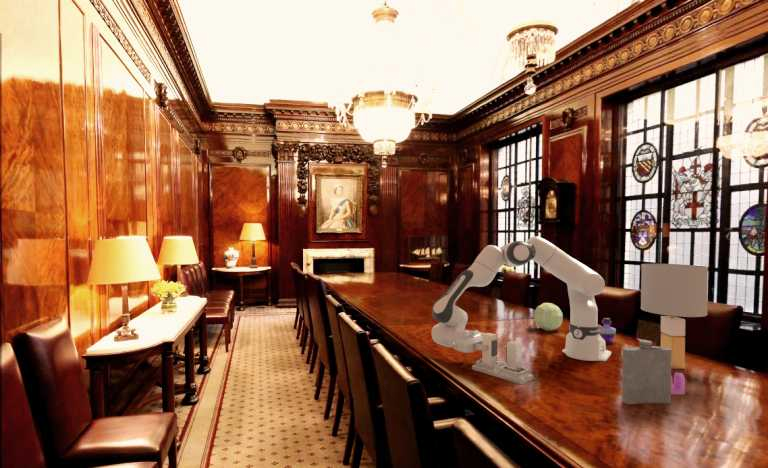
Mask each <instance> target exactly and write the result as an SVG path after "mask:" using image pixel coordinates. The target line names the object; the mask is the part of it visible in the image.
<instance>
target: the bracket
mask: <svg viewBox="0 0 768 468" xmlns="http://www.w3.org/2000/svg"><path fill="white" fill-rule="evenodd" d="M673 374H674V375H673V376H672V374H671V395H686V378H685V374H684V373H682V372H675V373H673Z"/></svg>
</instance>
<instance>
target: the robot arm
mask: <svg viewBox="0 0 768 468" xmlns="http://www.w3.org/2000/svg"><path fill="white" fill-rule="evenodd" d="M530 261H533V262H535V263H536V264H538V265H539V266H540V267H542V268H543V269H544V270H546V271H547V272H549V273H550V274H552V275H553V276H554V277H556V278H557V279H559V280H561V281H562V282H564V283H566V286H567V293H568V299H569V308H570V313H569V314H570V315H569V317H570V319H569V321H570V323H569V324H568V333H567V334H566V336H565V347H564V349H562V353H564V354H565V355H566V356H567V357H568V358H572V359H576V360H580V361H589V362H590V361H591V362H606V361H608V359H609V358H610V356H611V355H612V351H611V350H608V349H607V347H606V344H607V343H605V340H604V339H603V338H602V337H601V336H600V335H599V333H600V332H599V330H600V329H601V326H602V325H601V324H599V323H598V321H599V320H598V316H599V315H598V314H599V313H598V311H599V309H598V306H597V303H596V299H595V296H597V295H600V294H601V293H602V292H604V289H605V287H606V285H605V284H606V282H605V280H604V278H603V277H602V276H601V274H599V273H598V272H597V271H596V270H594V269H592V268H590V267H589V266H587V265H586V264H584V263H583V262H580V261H579V260H578V259H576V258H575V257H574V258H573V257H572V256H570V255H569V254H567V253H566V252H565V251H563V250H562V249H560V247H558V246H556V245H555V244H553V243H552V242H550V241H549V240H547V239H545V238H543V237H540V236H538V235H537V236H535V235H533V236H531V237H529V238H528V240H526V241H523V240H517V241H511V242H508V243H507V244H505V245H503V246H501V247H499V246H497V245H493V244H489V245H486V246H485V247H484V248H483V249H482V250H481V252H480V253H479V254H478V255H477V256H476V257H475V259H474V262H473V263H472V264H471V265H470V266H469V267H468V268H467V269H465V270H464V271H463V270H462V272H461V273H460V274H459V275H458V276H457V277H456V278H455V280H453V282H452V283H451V285H450V286H449V288H448V289H447V290H446V291H445V292H444V294H442V296H440V298H438V299H437V300H436V301H435V302H434V304H433V306H432V309H431V312H432V313H431V314H432V317H433V319H434V320H435V321H437V322H438V323H437V324H435V325H433V326H432V328H431V338H432V340H433V341H434V342H435V343H436V344H438V345H440V346H443V347H446V348H452V349H454V350H455V351H457V352H460V353H463V354H469V353H472V352H475V351H482V350H485V351H487V350H489V347H488V346H487V345H482V339H483V334H485V333H486V332H483V331H482V332H481V331H479V330H477V329H466V327H467V324H468V320H469V316H468V313H467V312H466V311H465V310H463V309H462V308H460V306H457V304H456V302H457V301H458V299H459V298H460V297H461V296H462V294H464V292H465V290H466V289H468V288H469V287H470V288H471V287H477V288H478V287H479V288H480V287H481V288H482V287H486V286H488V285H489V284H490V283H492V281H493V280H494V278H495V277H496V275H497V273H498V272H499V270H500V268H501V267H502V266H505V267H509V268H510V267H512V268H513V267H514V268H515V267H516V268H517V267H519V266H524V265H526V264H528V263H529V262H530Z"/></svg>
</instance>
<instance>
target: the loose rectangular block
mask: <svg viewBox="0 0 768 468" xmlns="http://www.w3.org/2000/svg"><path fill="white" fill-rule="evenodd" d="M484 333H485V334H483V339H482V345H487V346H488V347H489V350H487V351H485V350H481V352H482V353H481V354H482V355H481V356H482V357H481V359H482V363H486V364H489V365H496V364H497V361H498V359H497V357H498V345H499V344H498V342H499V340H498V337H497V336H498V334H496V333H492V332H484Z"/></svg>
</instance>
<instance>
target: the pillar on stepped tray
mask: <svg viewBox="0 0 768 468" xmlns="http://www.w3.org/2000/svg"><path fill="white" fill-rule="evenodd" d="M522 358H523V342H521V341H517V340H510V341H507V342H506V347H505V363H506V364H505V365H504V361H501V360H497V364H496V365H489V364H486V363H482V358H481V359H477V360H475V364H473V365H471V370H473V371H477V372H480V373H481V374H482V373H483V374H486V375H489V376H492V377H494V378H495V377H496V378H499V379H502V380H505V381H508V382H512V383H515V384H518V385H519V384H520V385H524V384H526V383H528V382H530V381H532V380H534V374H530V372H529V370H530V369H529V368H526V367H523V359H522Z"/></svg>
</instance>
